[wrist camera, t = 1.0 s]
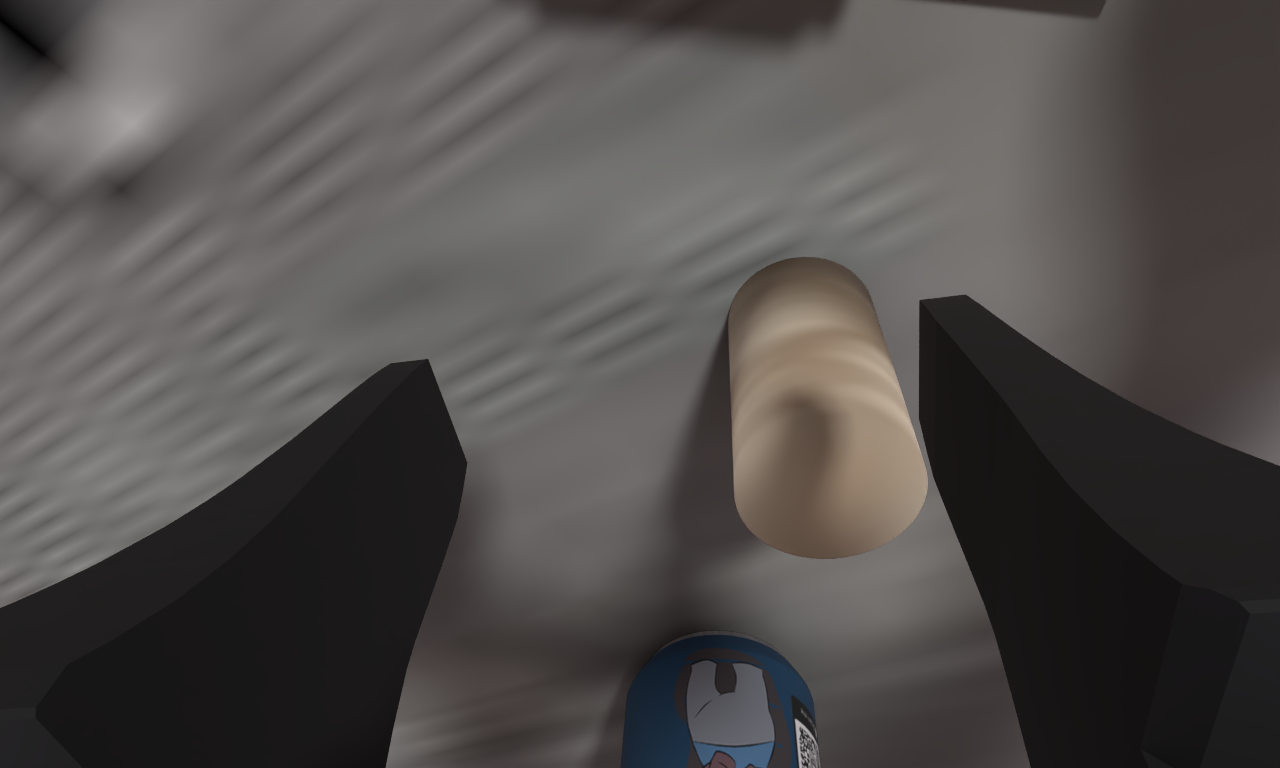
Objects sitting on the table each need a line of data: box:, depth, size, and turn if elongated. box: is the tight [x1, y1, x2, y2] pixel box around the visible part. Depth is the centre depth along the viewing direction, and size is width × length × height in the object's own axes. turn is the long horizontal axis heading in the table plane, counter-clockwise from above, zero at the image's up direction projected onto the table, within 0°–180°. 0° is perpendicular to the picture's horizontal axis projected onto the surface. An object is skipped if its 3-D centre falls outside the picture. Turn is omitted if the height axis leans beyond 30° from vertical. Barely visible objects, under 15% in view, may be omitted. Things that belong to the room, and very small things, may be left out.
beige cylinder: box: [728, 257, 928, 559], centre depth 21 cm, size 4×4×7 cm
